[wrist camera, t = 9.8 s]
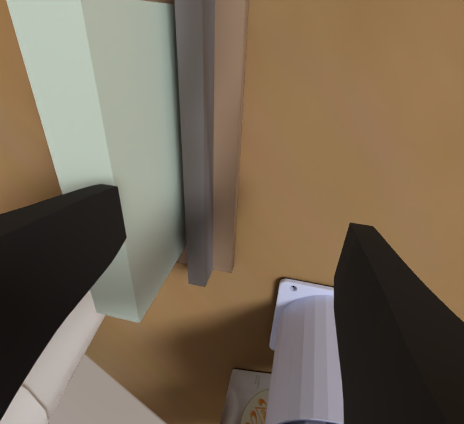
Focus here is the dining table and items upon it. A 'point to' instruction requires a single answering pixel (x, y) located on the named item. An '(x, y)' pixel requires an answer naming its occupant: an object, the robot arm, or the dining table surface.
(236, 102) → the bottom track
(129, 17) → the door panel
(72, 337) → the foam cup
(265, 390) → the coffee box
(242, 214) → the dining table surface
